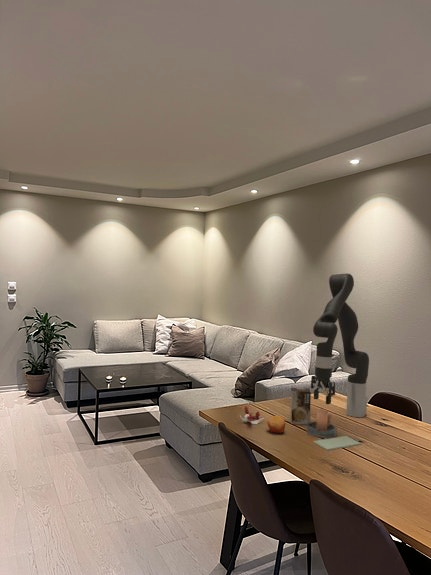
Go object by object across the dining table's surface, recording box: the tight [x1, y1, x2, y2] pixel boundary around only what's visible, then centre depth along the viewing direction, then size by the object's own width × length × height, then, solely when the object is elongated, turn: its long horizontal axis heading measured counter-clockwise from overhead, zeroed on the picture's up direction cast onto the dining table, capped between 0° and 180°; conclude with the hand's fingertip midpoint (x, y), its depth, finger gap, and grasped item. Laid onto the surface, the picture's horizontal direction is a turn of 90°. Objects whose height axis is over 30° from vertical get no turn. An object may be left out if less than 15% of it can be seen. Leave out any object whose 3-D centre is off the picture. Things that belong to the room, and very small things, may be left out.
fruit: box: [266, 415, 286, 434], centre depth 196 cm, size 8×8×8 cm
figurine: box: [239, 405, 264, 425], centre depth 206 cm, size 15×12×7 cm
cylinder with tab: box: [315, 408, 332, 431], centre depth 197 cm, size 7×5×10 cm
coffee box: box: [289, 387, 312, 426], centre depth 209 cm, size 9×6×16 cm
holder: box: [305, 420, 338, 439], centre depth 196 cm, size 13×13×3 cm
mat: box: [312, 435, 362, 451], centre depth 184 cm, size 18×9×1 cm, turn 115°
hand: (321, 401), depth 196 cm, fingers open, 8 cm apart
